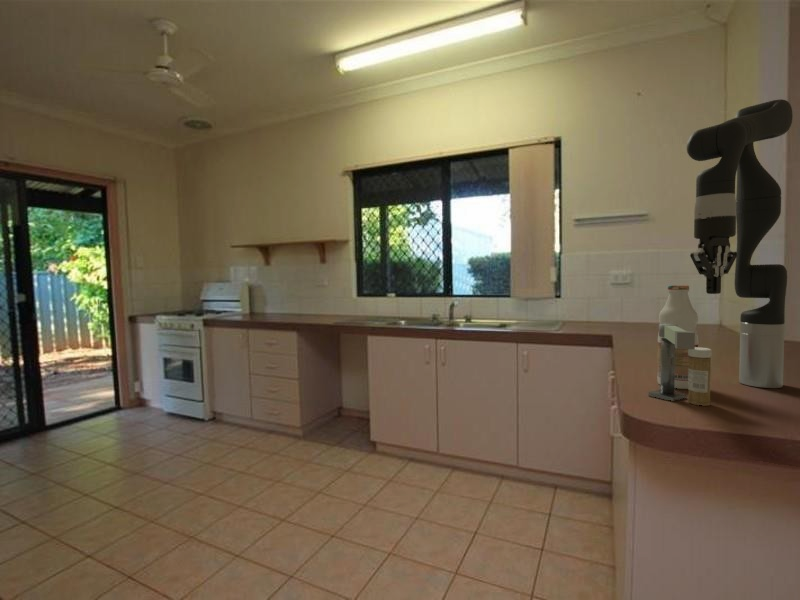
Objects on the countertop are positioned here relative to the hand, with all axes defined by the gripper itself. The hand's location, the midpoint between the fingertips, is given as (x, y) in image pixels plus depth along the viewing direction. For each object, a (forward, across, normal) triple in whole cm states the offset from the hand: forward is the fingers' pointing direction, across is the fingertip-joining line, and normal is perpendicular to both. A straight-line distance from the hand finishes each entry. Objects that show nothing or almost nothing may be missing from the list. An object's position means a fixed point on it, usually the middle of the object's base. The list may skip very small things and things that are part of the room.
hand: (713, 293), depth 95 cm
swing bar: (+11, +5, -5) cm, 14 cm away
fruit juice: (+27, -13, -17) cm, 35 cm away
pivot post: (+27, 0, -11) cm, 29 cm away
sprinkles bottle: (+27, -2, -4) cm, 27 cm away
